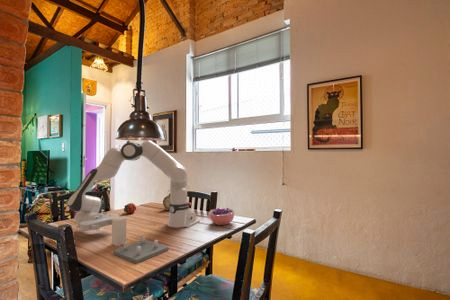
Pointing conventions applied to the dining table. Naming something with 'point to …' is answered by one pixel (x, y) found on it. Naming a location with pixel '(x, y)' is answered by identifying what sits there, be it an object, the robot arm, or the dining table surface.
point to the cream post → (118, 231)
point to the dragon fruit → (130, 208)
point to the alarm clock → (166, 202)
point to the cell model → (221, 216)
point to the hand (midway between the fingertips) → (106, 225)
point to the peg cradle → (140, 250)
